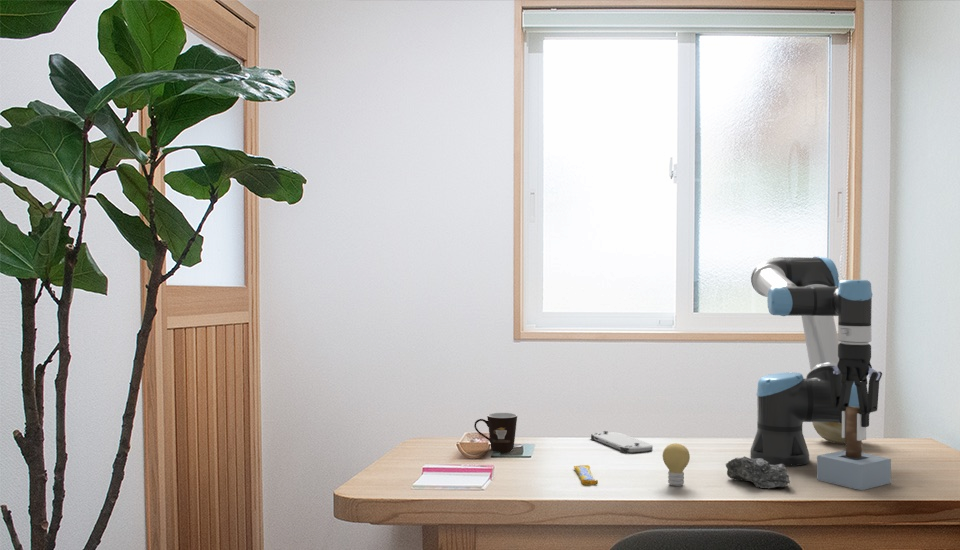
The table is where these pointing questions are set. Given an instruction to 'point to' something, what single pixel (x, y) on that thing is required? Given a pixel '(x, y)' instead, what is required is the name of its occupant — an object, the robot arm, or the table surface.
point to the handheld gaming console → (622, 442)
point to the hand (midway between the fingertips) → (853, 438)
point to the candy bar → (585, 475)
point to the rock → (758, 472)
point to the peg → (852, 433)
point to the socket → (854, 470)
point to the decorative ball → (830, 431)
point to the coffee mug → (500, 431)
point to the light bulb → (676, 462)
